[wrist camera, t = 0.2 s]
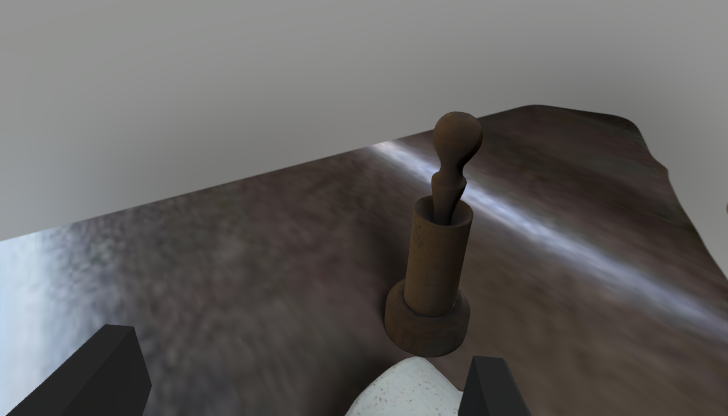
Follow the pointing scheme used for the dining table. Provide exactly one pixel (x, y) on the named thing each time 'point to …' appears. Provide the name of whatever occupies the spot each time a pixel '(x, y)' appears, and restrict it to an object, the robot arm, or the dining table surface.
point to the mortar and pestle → (437, 251)
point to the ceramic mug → (408, 392)
